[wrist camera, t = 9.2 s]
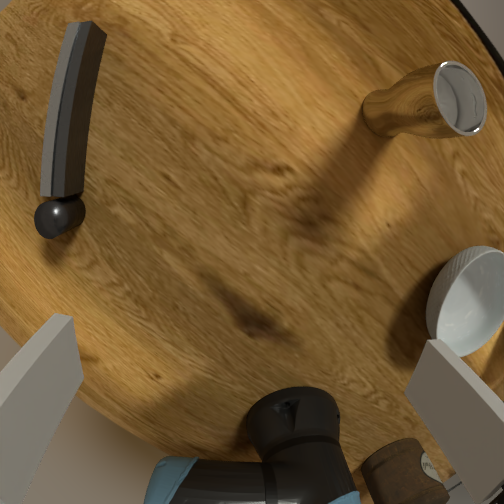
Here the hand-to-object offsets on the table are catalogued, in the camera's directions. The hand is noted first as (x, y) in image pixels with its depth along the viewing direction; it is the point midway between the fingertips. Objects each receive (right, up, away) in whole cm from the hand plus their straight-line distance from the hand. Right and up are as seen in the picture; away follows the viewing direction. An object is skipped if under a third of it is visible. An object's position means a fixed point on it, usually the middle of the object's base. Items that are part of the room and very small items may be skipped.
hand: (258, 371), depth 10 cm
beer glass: (+16, +21, +23) cm, 35 cm away
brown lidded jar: (+31, -43, +43) cm, 68 cm away
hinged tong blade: (-21, +21, +19) cm, 36 cm away
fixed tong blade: (-21, +19, +20) cm, 35 cm away
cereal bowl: (+31, -2, +31) cm, 44 cm away
